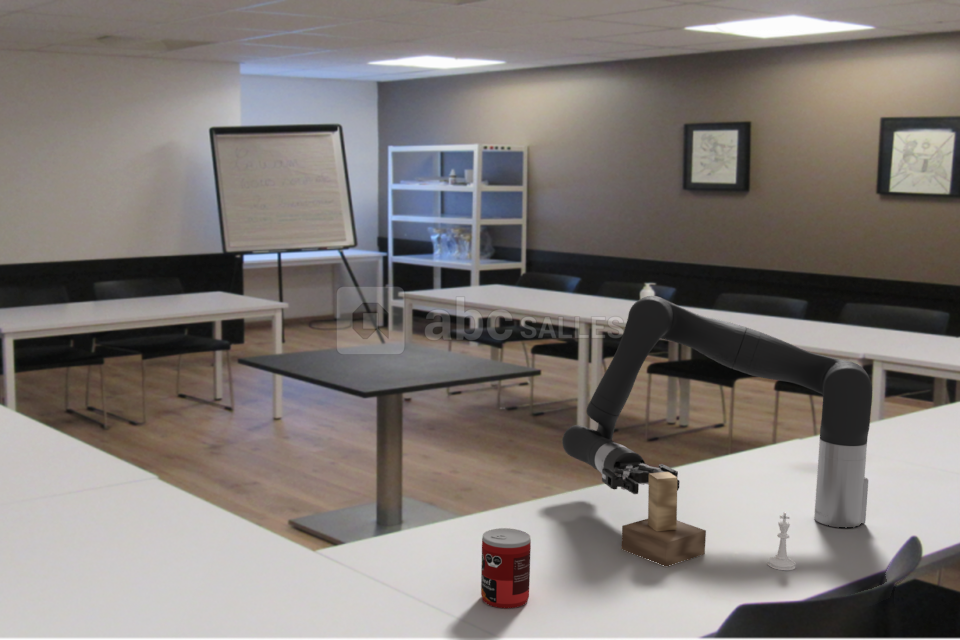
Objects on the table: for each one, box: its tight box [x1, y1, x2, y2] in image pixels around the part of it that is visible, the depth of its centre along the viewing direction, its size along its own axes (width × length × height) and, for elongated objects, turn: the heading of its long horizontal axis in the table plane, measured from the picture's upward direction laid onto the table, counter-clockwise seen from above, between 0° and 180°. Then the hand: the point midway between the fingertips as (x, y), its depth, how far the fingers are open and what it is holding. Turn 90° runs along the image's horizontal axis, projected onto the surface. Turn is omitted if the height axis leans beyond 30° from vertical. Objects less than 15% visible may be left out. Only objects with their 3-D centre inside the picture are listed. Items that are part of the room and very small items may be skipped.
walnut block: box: [621, 518, 707, 567], centre depth 187 cm, size 11×11×5 cm
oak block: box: [647, 472, 678, 531], centre depth 186 cm, size 4×4×10 cm
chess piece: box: [767, 511, 796, 571], centre depth 181 cm, size 5×5×10 cm
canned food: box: [480, 527, 532, 609], centre depth 163 cm, size 8×8×11 cm
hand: (657, 487), depth 189 cm, fingers open, 8 cm apart
